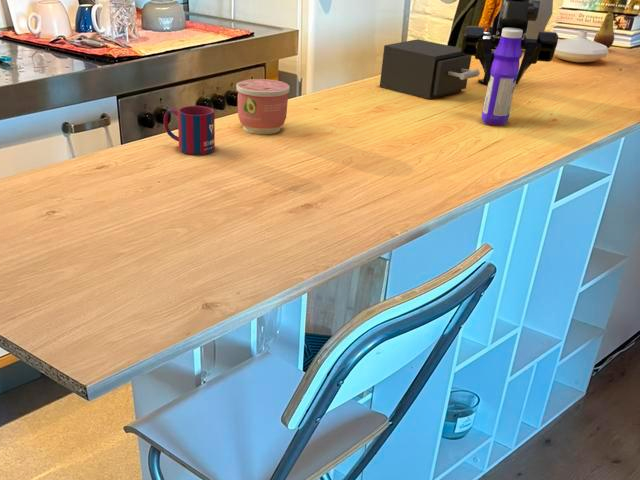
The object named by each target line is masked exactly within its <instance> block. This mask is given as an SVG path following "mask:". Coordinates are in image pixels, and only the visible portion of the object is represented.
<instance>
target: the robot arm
mask: <svg viewBox="0 0 640 480" xmlns="http://www.w3.org/2000/svg"><path fill="white" fill-rule="evenodd" d="M539 6H540V1H534V0H531V2H530V0H501V3H500V8H499V10H498V12H497V14H496V15H495V16H494V18H493V19H492V24H491V26H488V30H487V31H485V29H486V27H485V26H479V25H478V26H477V25H467V26H466V27H465V28H464V33H463V39H462V45H461V48H462V50H461V53H462V54H463V55H470V56H472V57H474V59H475V60H479V62H480V65H481V68H482V70H483V73H484V75H483V78H481V79H478V80H477V82H478V83H479V84H484V85H487V86H488V82H489V78H490V72H491V66H492V63H493V60H494V58H495V56H494V51H495V50H496V48H497V47H498V45H499V42H500V39H501V34H502V29H503V28H509V27H510V28H519V29H522V30H523V33H522V39H521V52H522V53H523V55H522V60H521V62H520V65H519V72H518V76H517V79H516V83H515V86H516V85H518V84H519V83H520V81H521V79H522V78H523V76H524V74H525V73H526V72H527V70H528V69H529V68H530V67H531V65H535V64H537V63H538V62H545V63H548V62H551V61H553V58H554V56H555V55H554V52H555V49H556V46H557V43H558V40H559V35H558V32H555V31H546V30H545V31H539V34H538V37H537V39H526V36H525V33H526V31H527V26H528V21H536V19H537V16H538V12H539ZM523 50H525V52H523Z"/></svg>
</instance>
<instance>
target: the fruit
mask: <svg viewBox="0 0 640 480" xmlns="http://www.w3.org/2000/svg"><path fill="white" fill-rule="evenodd" d="M616 6H617V3H615V4H614V5H613V7H612V9H611V10H610V11H608V12H607V13H606V14H605V17H604V19H603V21H602V24H601V26H600V28H599V30H598V31H597V33H595V36H594V38H593V41H595V42H597V43H600V44H603V45H605V46H607V48H608V49H609V48H611V47H612V46H613V43H614V42H615V32H614V13H613V10H614V8H615V7H616Z"/></svg>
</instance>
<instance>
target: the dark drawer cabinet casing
mask: <svg viewBox="0 0 640 480" xmlns="http://www.w3.org/2000/svg"><path fill="white" fill-rule="evenodd" d="M461 50H462V47H458V46H453V45H448V44H444V43H438V42H435V41H434V42H433V41H428V40H423V39H419V38H418V39H411V40H405V41H401V42H400V41H399V42H395V43H390V44H385V45H384V46H383V54H382V63H381V73H380V80H379V88H383V89H386V90H391V91H395V92H399V93H401V94H402V93H403V94H407V95H410V96H415V97H418V98H422V99H426V100H431V99H437V98H440V97H443V96H444V97H445V96H448V95H452V94H456V93H460V92H462V90H458V91H454V92H450V93H446V94H442V95H438V96H436V95H433V85H434V78H435V72H436V65H437V60H441V59H446V58H451V57H456V56H465V55H463V54H462V53H461Z"/></svg>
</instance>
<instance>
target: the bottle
mask: <svg viewBox="0 0 640 480" xmlns="http://www.w3.org/2000/svg"><path fill="white" fill-rule="evenodd" d="M522 33H523V30H522V29H519V28H510V27H509V28H503V29H502V34H501V39H500V42H499V45H498V47H497V48H496V50H495V51H494V56H495V58H494V60H493V63H492V66H491V72H490V78H489V82H488V85H487V88H486V92H485V93H486V94H485V97H484V103H483V108H482V111H481V121H482V122H483V123H484V124H485V125H489V126H496V127H499V126H500V127H501V126H504V125H506V124H507V122H508V121H509V118H510V112H511V107H512V103H513V96H514V93H515V88H516V79H517V76H518V72H519V69H520V59H521V58H523V52H521V39H522Z"/></svg>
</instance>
